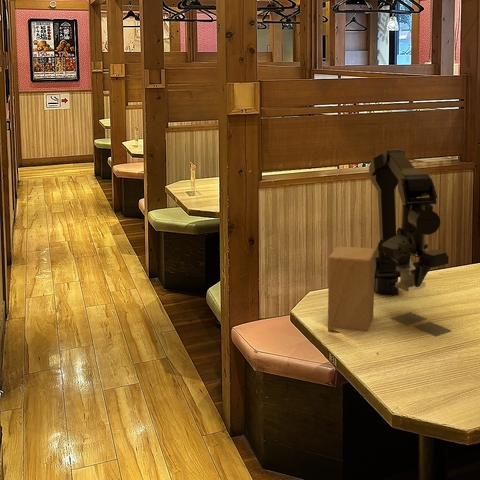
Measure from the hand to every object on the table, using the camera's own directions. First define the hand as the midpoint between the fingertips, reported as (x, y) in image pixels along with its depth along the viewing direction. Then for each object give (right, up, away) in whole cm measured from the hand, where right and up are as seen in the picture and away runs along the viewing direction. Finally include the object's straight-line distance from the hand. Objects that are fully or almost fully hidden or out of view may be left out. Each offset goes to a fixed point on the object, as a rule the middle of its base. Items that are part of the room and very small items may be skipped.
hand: (410, 284), depth 168 cm
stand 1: (0, -10, +3) cm, 11 cm away
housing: (0, -1, 0) cm, 1 cm away
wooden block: (-15, -11, +2) cm, 19 cm away
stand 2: (+5, -12, -3) cm, 13 cm away
